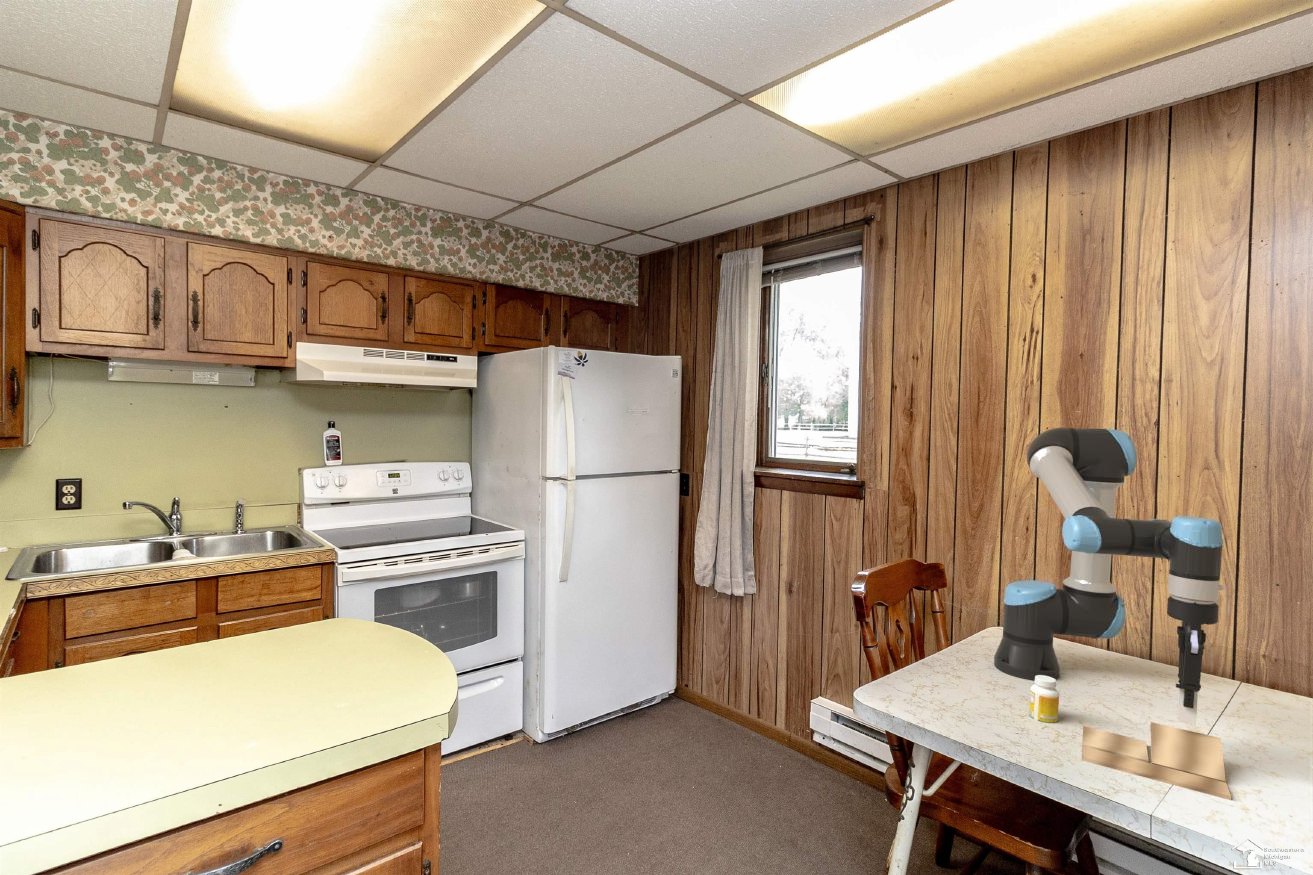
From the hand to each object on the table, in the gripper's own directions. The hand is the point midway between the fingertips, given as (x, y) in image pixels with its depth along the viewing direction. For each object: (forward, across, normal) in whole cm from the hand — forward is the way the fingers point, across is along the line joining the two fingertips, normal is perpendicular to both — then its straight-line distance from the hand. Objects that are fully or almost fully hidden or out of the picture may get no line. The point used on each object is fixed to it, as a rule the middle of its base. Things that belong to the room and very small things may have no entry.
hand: (1186, 722), depth 125 cm
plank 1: (+8, -1, +11) cm, 14 cm away
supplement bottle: (+9, +5, +24) cm, 26 cm away
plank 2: (+6, -2, 0) cm, 6 cm away
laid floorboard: (+9, -9, +6) cm, 14 cm away
